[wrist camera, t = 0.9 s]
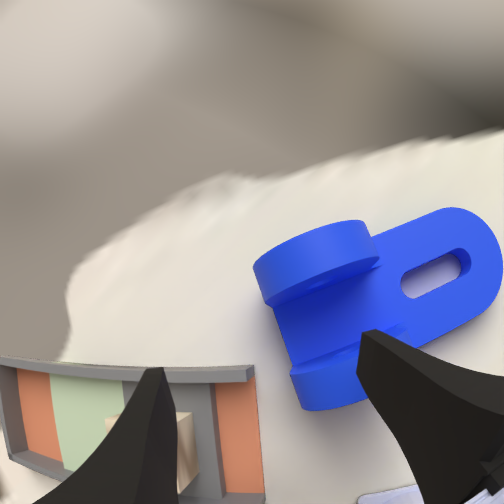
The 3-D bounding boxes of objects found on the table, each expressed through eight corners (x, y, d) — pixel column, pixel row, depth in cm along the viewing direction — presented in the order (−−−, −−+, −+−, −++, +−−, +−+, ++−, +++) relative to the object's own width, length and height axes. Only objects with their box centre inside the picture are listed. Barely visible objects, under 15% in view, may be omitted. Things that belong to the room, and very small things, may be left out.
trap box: (265, 499, 20) (259, 517, 17) (27, 453, 24) (9, 459, 21) (253, 364, 23) (245, 369, 20) (13, 356, 27) (-7, 355, 24)
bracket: (303, 388, 22) (299, 422, 13) (266, 283, 24) (241, 256, 16) (502, 294, 20) (571, 275, 12) (465, 203, 23) (517, 152, 14)
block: (199, 471, 20) (180, 493, 16) (141, 464, 21) (115, 481, 17) (192, 412, 21) (169, 426, 17) (133, 408, 22) (104, 418, 18)
